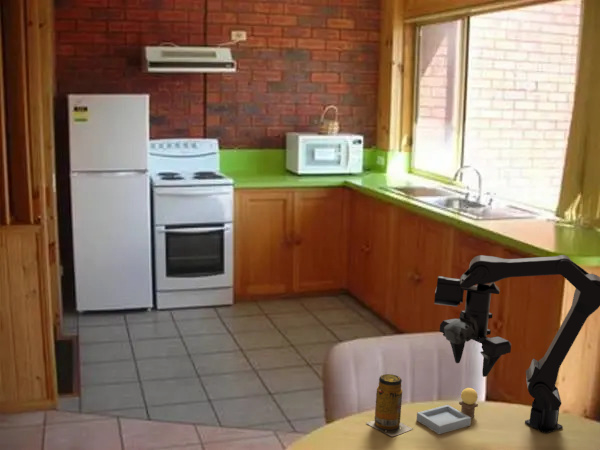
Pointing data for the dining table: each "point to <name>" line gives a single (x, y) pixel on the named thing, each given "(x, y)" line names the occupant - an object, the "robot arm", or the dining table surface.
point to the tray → (443, 419)
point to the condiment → (389, 406)
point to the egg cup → (468, 408)
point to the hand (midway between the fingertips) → (470, 369)
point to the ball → (469, 396)
